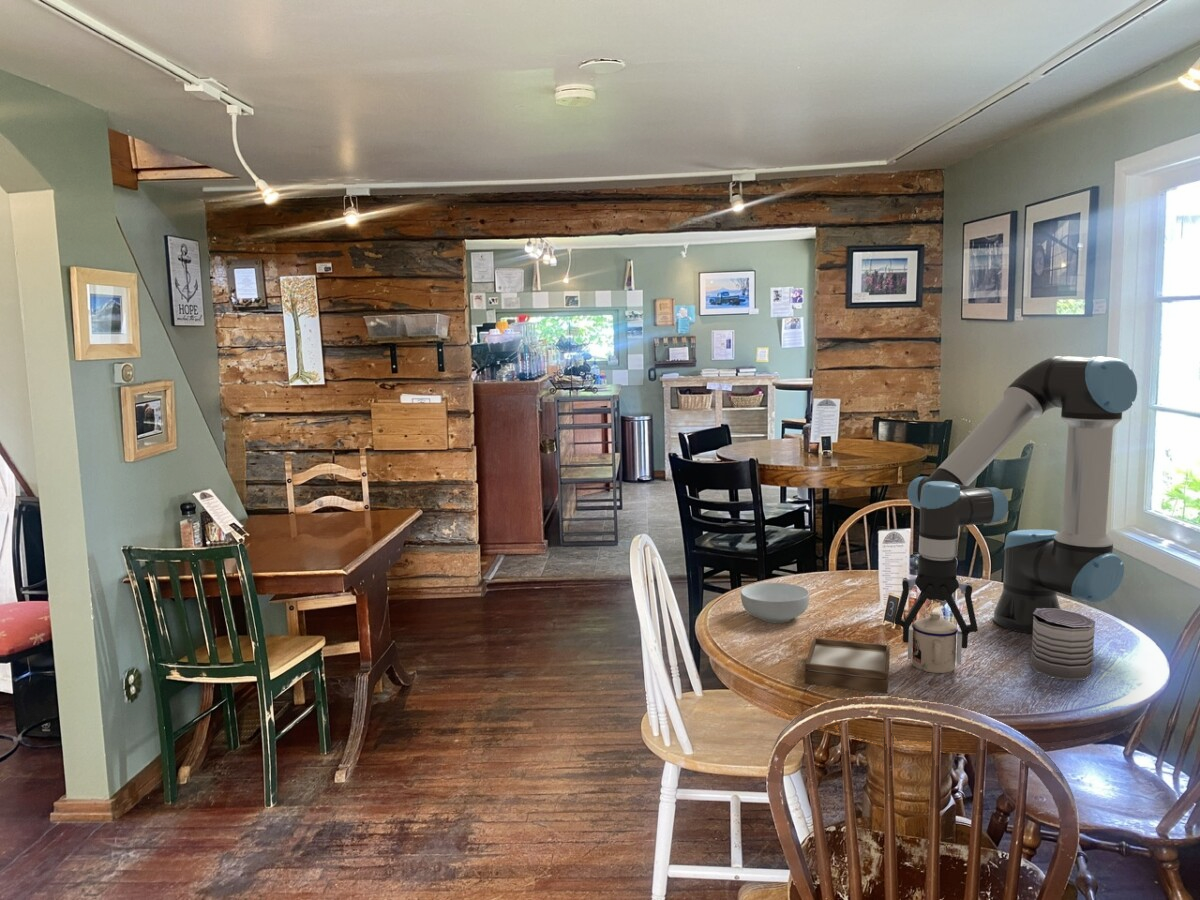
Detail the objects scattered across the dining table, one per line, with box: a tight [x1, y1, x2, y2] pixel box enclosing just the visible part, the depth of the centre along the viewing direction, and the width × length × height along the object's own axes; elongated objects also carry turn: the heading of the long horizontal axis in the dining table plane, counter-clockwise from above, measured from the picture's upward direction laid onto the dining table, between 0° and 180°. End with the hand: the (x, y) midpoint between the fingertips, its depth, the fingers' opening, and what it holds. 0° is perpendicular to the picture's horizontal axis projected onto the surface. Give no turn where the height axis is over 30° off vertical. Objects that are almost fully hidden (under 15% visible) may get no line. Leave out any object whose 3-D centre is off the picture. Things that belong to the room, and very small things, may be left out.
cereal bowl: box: [740, 581, 810, 624], centre depth 215 cm, size 17×17×7 cm
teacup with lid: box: [911, 611, 959, 674], centre depth 181 cm, size 12×9×12 cm
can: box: [1030, 608, 1096, 681], centre depth 179 cm, size 11×11×12 cm
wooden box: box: [804, 637, 891, 694], centre depth 180 cm, size 16×16×4 cm
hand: (934, 659), depth 182 cm, fingers closed on teacup with lid, 9 cm apart
